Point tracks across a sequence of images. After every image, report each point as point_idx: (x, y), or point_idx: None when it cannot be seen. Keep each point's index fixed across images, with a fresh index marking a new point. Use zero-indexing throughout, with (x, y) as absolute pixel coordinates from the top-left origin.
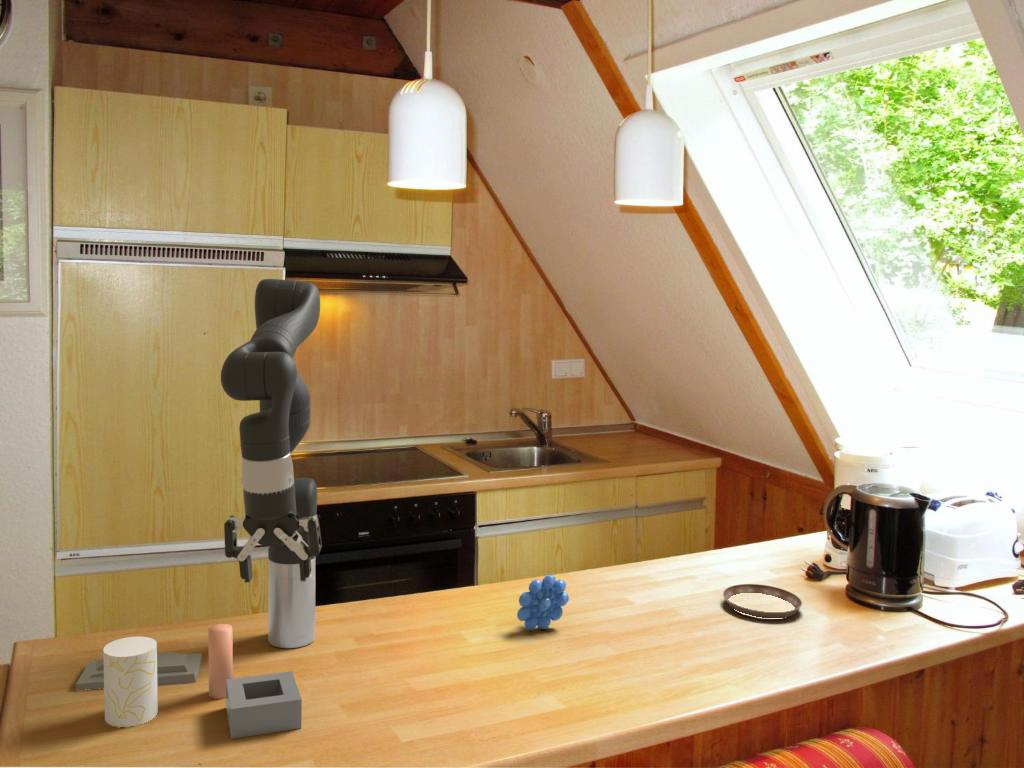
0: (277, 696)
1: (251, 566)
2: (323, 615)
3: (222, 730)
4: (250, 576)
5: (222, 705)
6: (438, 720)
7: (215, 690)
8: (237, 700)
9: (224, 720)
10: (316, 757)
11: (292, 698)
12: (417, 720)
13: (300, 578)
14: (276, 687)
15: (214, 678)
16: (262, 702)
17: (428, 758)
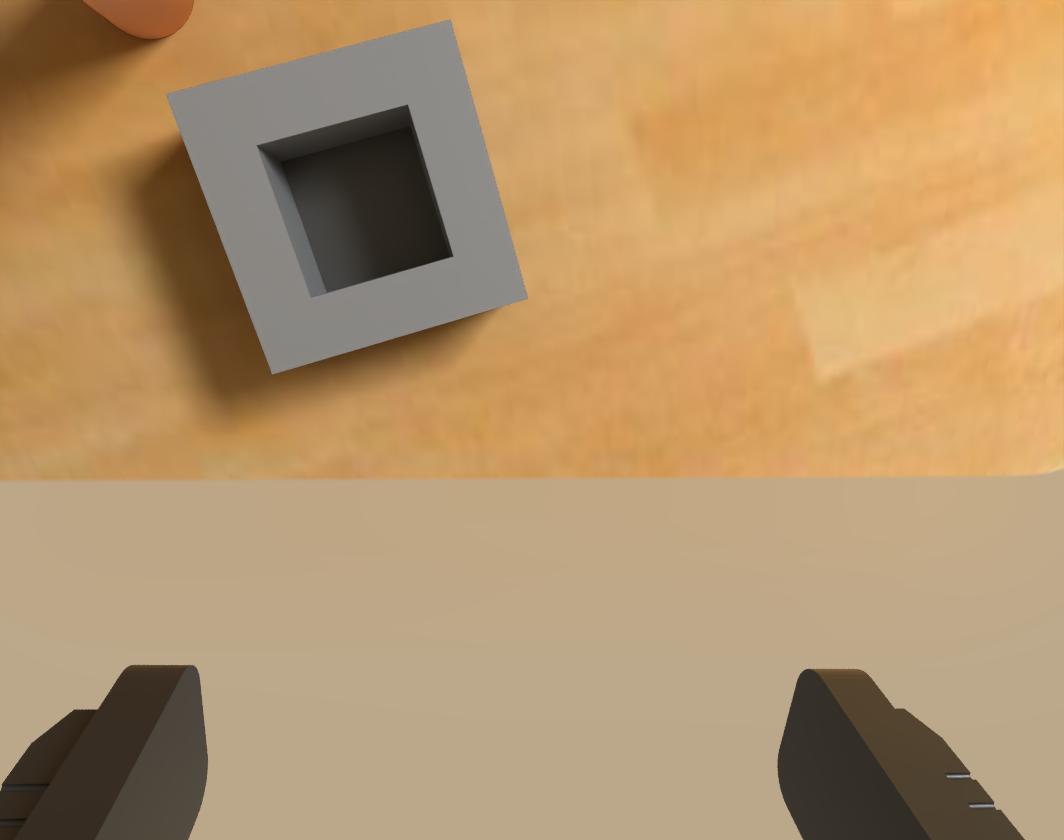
0: (431, 272)
1: (132, 794)
2: None
3: None
4: (183, 769)
5: None
6: (935, 253)
7: (121, 25)
8: (277, 302)
9: None
10: (579, 467)
11: (492, 291)
12: (873, 251)
13: (792, 816)
14: (398, 113)
15: (93, 4)
16: (382, 322)
17: (879, 471)
